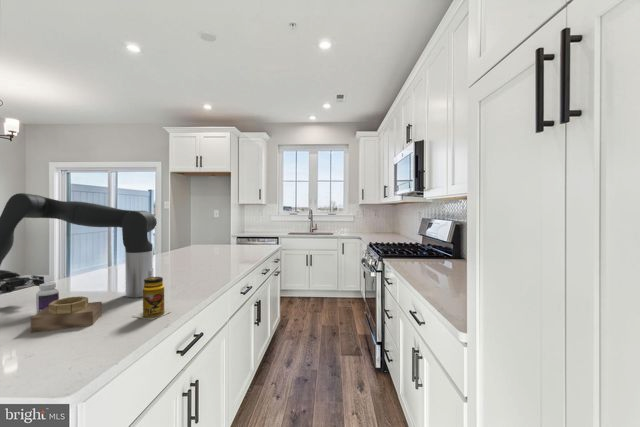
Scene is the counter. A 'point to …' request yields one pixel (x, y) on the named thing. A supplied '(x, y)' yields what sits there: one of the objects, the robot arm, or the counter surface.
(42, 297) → the pill bottle
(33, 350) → the counter surface
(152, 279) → the condiment
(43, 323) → the wooden bottle holder
